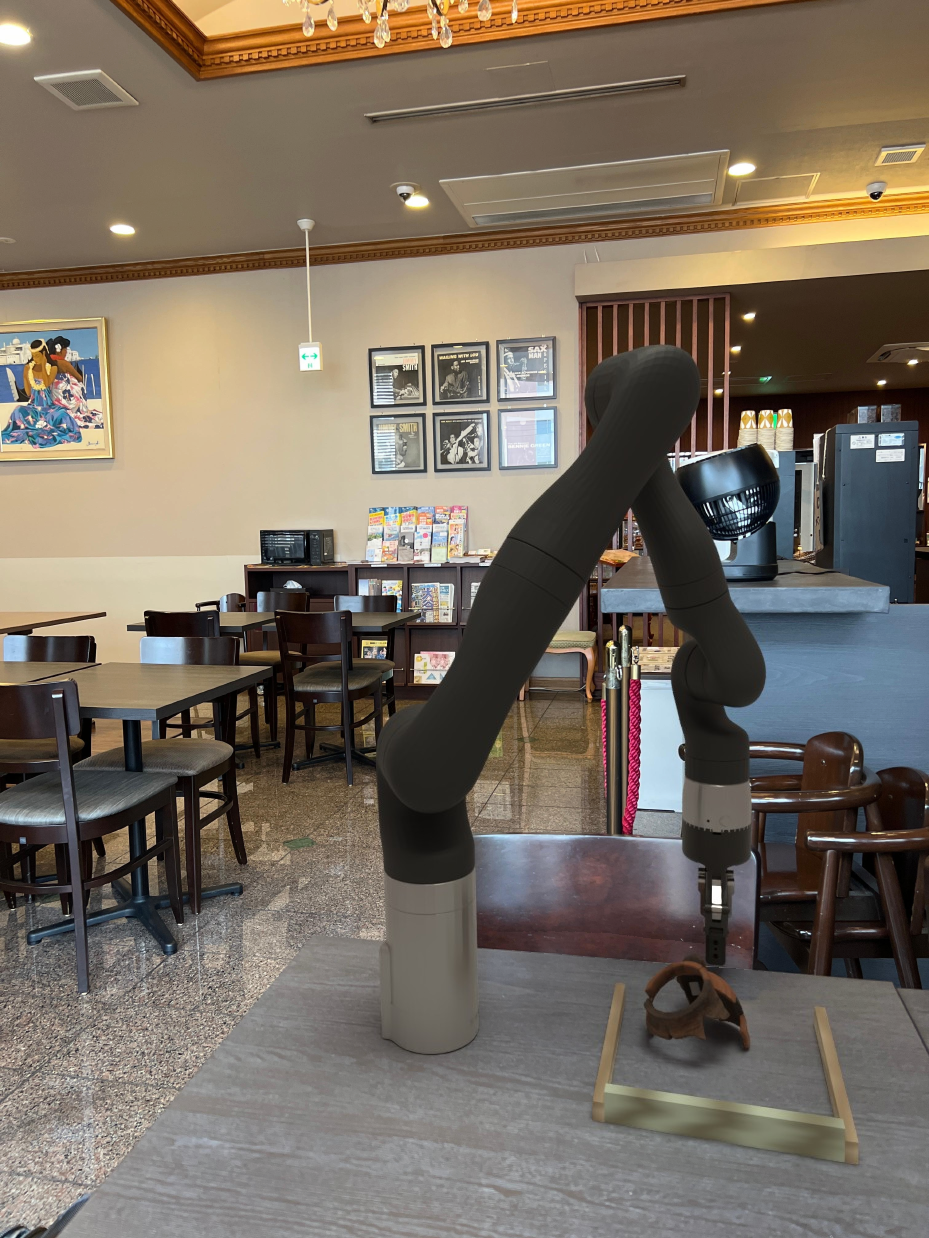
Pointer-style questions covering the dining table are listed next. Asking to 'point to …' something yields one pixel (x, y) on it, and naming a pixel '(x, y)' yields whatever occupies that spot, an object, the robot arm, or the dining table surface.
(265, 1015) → the dining table surface
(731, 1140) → the bay
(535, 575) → the robot arm
